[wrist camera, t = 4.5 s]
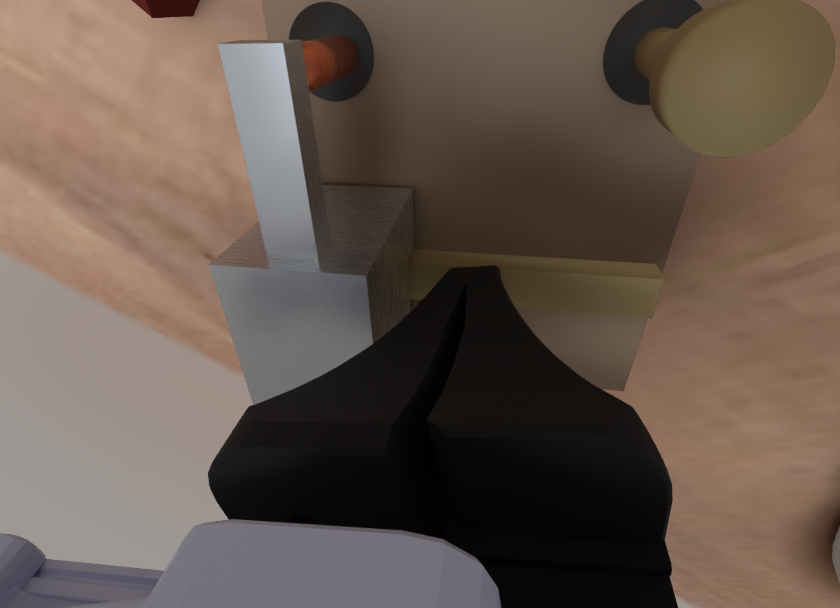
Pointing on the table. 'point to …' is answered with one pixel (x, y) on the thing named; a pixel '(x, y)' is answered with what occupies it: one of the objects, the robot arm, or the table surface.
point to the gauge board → (556, 136)
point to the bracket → (168, 7)
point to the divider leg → (305, 227)
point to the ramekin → (836, 554)
